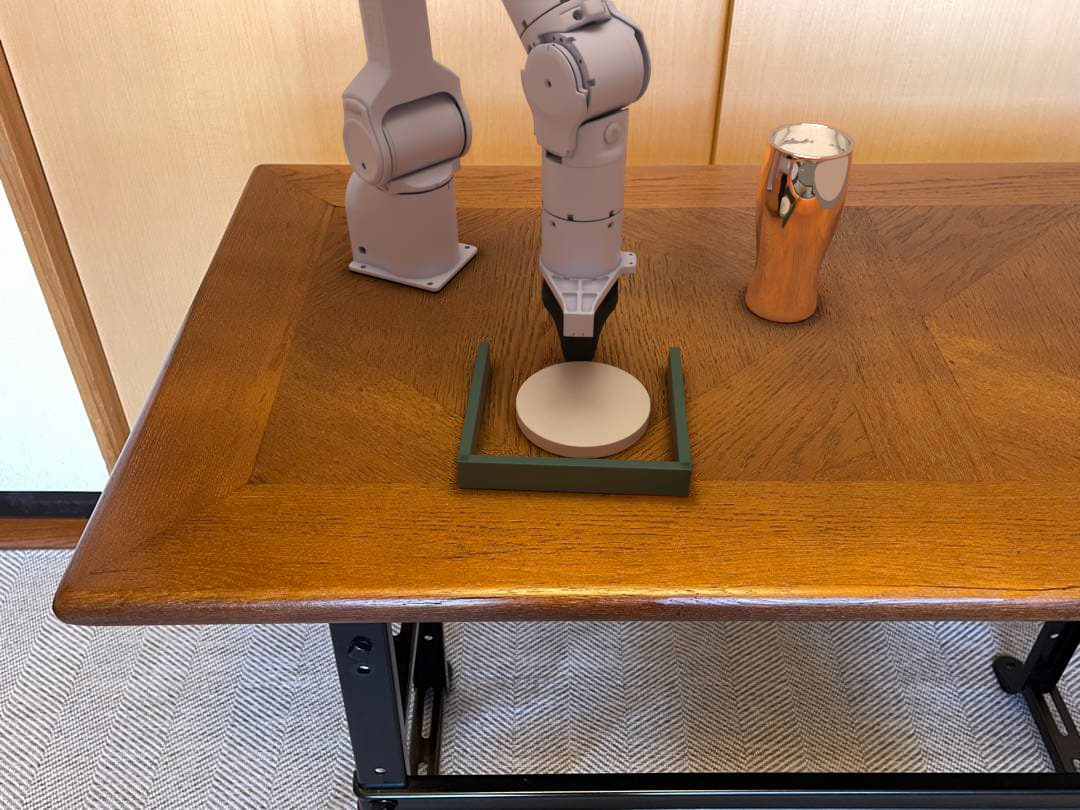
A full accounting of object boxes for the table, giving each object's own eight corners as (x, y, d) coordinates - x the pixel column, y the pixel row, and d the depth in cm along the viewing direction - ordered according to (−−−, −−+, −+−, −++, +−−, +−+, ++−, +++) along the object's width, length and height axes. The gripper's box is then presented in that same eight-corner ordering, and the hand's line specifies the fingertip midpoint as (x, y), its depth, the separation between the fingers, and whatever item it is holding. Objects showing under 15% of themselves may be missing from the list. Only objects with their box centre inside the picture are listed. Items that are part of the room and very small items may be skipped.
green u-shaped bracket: (480, 366, 74) (479, 341, 72) (676, 372, 73) (679, 346, 72) (459, 488, 63) (456, 461, 62) (688, 496, 63) (692, 469, 61)
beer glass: (822, 330, 78) (860, 162, 68) (738, 321, 79) (764, 154, 69) (820, 286, 83) (855, 124, 73) (741, 278, 84) (765, 118, 74)
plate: (495, 440, 67) (494, 427, 66) (543, 362, 74) (543, 350, 74) (628, 472, 64) (629, 460, 64) (664, 388, 72) (665, 376, 71)
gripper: (643, 257, 59) (631, 420, 67) (637, 158, 70) (627, 309, 78) (532, 254, 59) (534, 417, 68) (544, 156, 70) (544, 307, 79)
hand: (578, 359), depth 73 cm, fingers closed
